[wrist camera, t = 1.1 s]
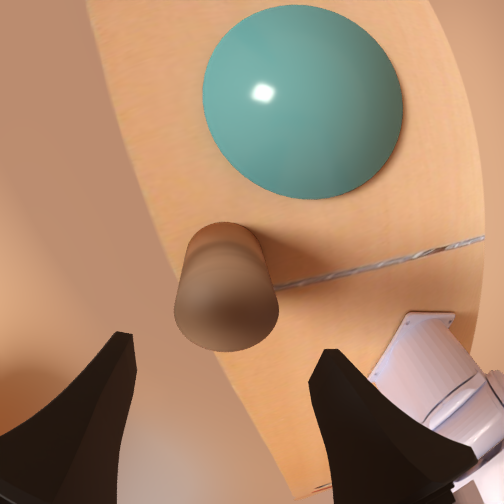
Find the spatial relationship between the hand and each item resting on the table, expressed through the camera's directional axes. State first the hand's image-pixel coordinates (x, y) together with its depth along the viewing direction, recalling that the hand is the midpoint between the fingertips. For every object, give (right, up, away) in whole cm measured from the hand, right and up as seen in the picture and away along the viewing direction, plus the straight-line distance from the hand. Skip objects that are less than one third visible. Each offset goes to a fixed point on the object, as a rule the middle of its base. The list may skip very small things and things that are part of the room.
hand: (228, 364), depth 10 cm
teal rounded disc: (+4, +13, +5) cm, 14 cm away
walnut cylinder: (-1, +4, +9) cm, 10 cm away
